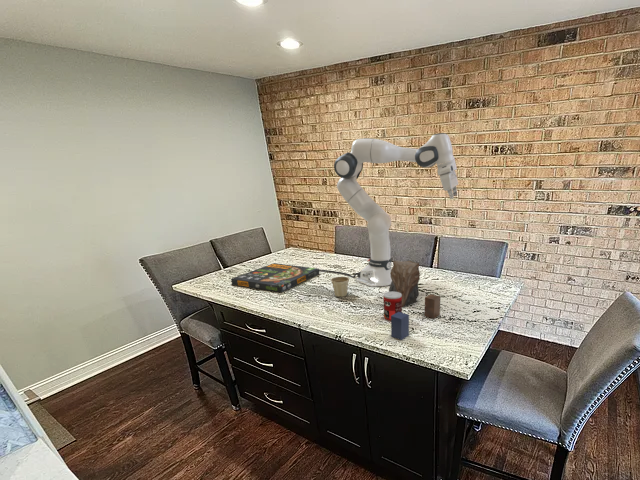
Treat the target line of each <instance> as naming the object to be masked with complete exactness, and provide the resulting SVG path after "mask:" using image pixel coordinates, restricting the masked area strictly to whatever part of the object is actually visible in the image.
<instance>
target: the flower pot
mask: <svg viewBox="0 0 640 480" xmlns="http://www.w3.org/2000/svg"><path fill="white" fill-rule="evenodd" d="M349 281H350V278H349V276H334V277H332V278H330V282H331V284H332V287H333V292H334V296H335V297H336V298H337V297H342V298H343V297H347V295H348V289H349V288H348V287H349Z"/></svg>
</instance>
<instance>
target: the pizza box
mask: <svg viewBox="0 0 640 480" xmlns="http://www.w3.org/2000/svg"><path fill="white" fill-rule="evenodd" d="M318 275H320V271H319V268H317V267H308V266H301V265H300V266H299V265H293V264H285V263H284V264H283V263H276V262H273V263H270V264H267V265H265V266H263V267H259V268H257V269H254V270H251V271H248V272H246V273H243V274H241V275H237V276H235V277H231V278H230V281H231V285H232V286H237V287H244V288H251V289H256V290H262V291H263V290H264V291H268V292H269V291H270V292H274V293H283V292H286V291H288V290H289V289H292V288H294V287H296V286H298V285H300V284H302V283H304V282H307V281H308V280H311V279H312V278H314V277H316V276H318Z"/></svg>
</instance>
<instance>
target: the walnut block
mask: <svg viewBox="0 0 640 480" xmlns="http://www.w3.org/2000/svg"><path fill="white" fill-rule="evenodd" d="M439 316H441V296H440V295H436V294H432V293H430V294H429V295H426V296H425V297H424V317H426V318H429V319H433V320H435V319H436V318H438V317H439Z"/></svg>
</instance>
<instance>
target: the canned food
mask: <svg viewBox="0 0 640 480" xmlns="http://www.w3.org/2000/svg"><path fill="white" fill-rule="evenodd" d="M382 299H383V317H384V320H387V321H390V322H391V316H392V315H394V314H395V313H397V312H401V313H403V307H402V294H401V293H399V292H393V291H392V292H389V291H386V292H384V293H383V298H382Z"/></svg>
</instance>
